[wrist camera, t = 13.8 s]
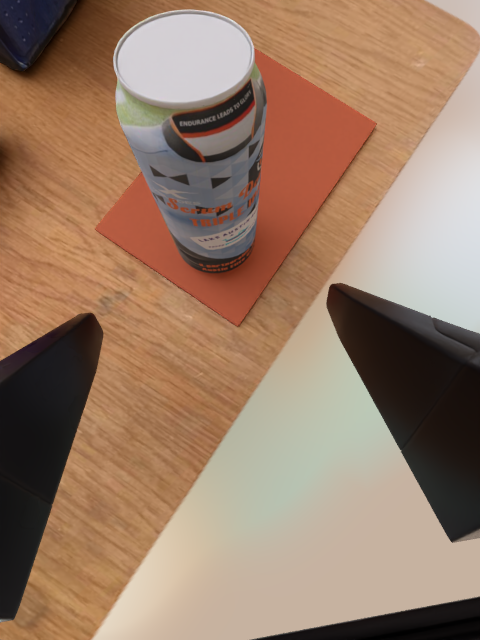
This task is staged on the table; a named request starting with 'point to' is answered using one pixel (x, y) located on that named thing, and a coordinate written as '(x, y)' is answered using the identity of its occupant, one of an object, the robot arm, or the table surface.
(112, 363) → the table surface
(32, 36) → the book
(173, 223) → the beverage can
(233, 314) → the terracotta mat
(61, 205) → the table surface
